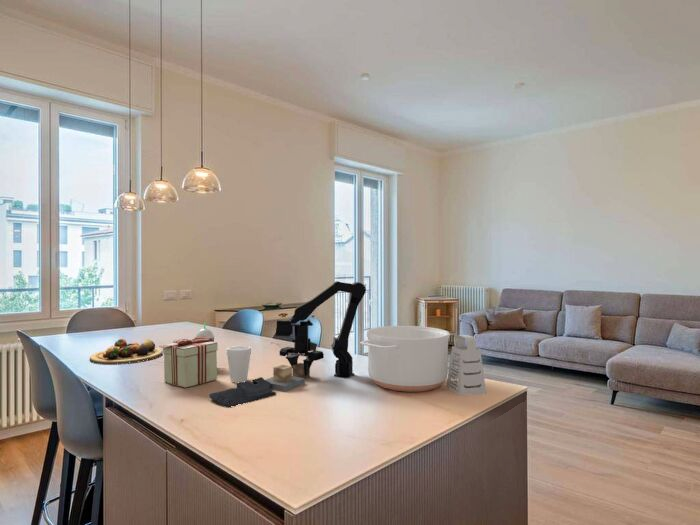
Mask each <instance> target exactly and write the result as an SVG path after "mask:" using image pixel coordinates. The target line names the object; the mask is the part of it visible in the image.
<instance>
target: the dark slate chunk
mask: <svg viewBox="0 0 700 525" xmlns="http://www.w3.org/2000/svg"><path fill="white" fill-rule="evenodd" d="M271 387H272V384H271V383H270V382H268V381H266V379H265V378H263V377H262V376H261V377H257V378H254V379H251V381H249V380H247V381H245V382H239V383H236V387H233V388H232V387H231V388H227V389H224V390H221V391H215V392H212V393H209V395H208V397H209V398H210V399H211V400H213V401H215V402H217V404H218V405H220V406H222V405H223V406H222V407H224V406H226V407H225V408H229V407H230V408H232V407H231V406H234V407H237V406H236V405H238V404H241V405H244V404H243V403H245V404H249V403H253V402H256V401H259V399H260V400H262V398H263V399H265V398H270V397H273V396H276V395H277V392H275V391H273V389H271ZM269 396H270V397H269ZM255 400H256V401H255ZM252 401H253V402H252ZM248 402H249V403H248ZM238 406H239V405H238Z"/></svg>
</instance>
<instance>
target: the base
mask: <svg viewBox="0 0 700 525" xmlns="http://www.w3.org/2000/svg"><path fill="white" fill-rule="evenodd" d="M265 380H266V381H268V382H270V383H271V384H272V387H271V389H270V390H274V389H275V391H280V392H284V393H285V392H287V391H290V390H293V389H295V388H297V387H300V386H303V385H305V384H306V378H299V377H293V375H292V380H289V381H286V382H279V381H273V376H271V377H269V378H266V379H265Z"/></svg>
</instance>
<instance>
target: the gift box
mask: <svg viewBox="0 0 700 525" xmlns="http://www.w3.org/2000/svg"><path fill="white" fill-rule="evenodd" d="M210 341H211V340H210V339H208V338H207V337H206V336H198V337H196V338H195V337H194V338H193V339H188V338H180V339H175V340H173V341H172V343H168V344H163V345H159V346H158V348H160V349H162V354H163V362H164V364H163V365H164V370H163V372H164V376H163V377H164V379H163V380H164V383H165V382H167V383H166V384H169V383H170V384H169V385H172V384H173V386H177V387H181V388H184V389H186V388H191V387H195V386H198V385H202V384H206V383H209V382H213V381H216V380H217V379H218V367H217V366H218V365H217V364H218V361H217V360H218V359H217V351H218V350H219V349H218V348H219V347H218V342H215V341H214V342H210Z"/></svg>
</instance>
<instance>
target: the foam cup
mask: <svg viewBox="0 0 700 525" xmlns="http://www.w3.org/2000/svg"><path fill="white" fill-rule="evenodd" d="M251 354H252V347H251V346H249V345H233V346H229V347H228V346H227V347H226V356H227V361H228V372H229V378H230V379H229V380H230V382H231V383H233V382H242V383H243V382H244V381H248V374H249V368H250V362H251V361H250V360H251Z"/></svg>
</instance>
